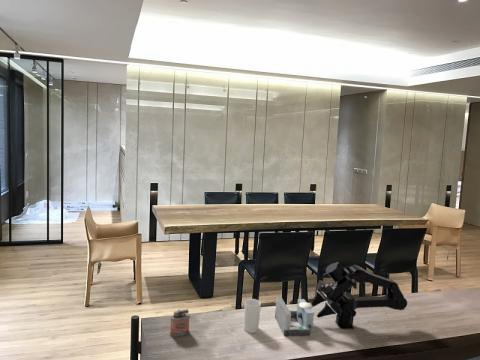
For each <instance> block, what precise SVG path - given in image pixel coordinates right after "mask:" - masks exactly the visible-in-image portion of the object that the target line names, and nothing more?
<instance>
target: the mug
mask: <svg viewBox="0 0 480 360" xmlns="http://www.w3.org/2000/svg"><path fill="white" fill-rule="evenodd" d="M261 305H262V303H261V301H260V300H259V299H256V298H248V299H246V300H245V301H244V308H243V309H244V310H243V315H244V316H243V330H244V332H247V333H257V332H258V331H259V324H260V316H261V315H260V313H261Z"/></svg>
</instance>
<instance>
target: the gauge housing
mask: <svg viewBox="0 0 480 360" xmlns="http://www.w3.org/2000/svg"><path fill="white" fill-rule="evenodd" d="M275 299H276V300H275V313H274V318H275V320H276V322H277V324H278V327H279V330H280V331H281V332H282V334H283V336H284V337H311V333H310V330H311V329H310V327H301V326H291V318H294V319H297V318H296V315H297V310H290V309H289V307H288V306H287V304H286V303H285V301H284V299H283V298H282V296H281V295H280V296H277V295H276V298H275Z"/></svg>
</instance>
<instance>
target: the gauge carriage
mask: <svg viewBox="0 0 480 360" xmlns="http://www.w3.org/2000/svg"><path fill="white" fill-rule="evenodd" d="M296 306H297V307H296V311H297V315H296V318H295V319H296V321H298V323H299V325H300V327H310V329H311V330H310V334H312V333H313V326H314V316H315V311H313V308H314V307H313V306H312V305H311V302H310V303H309V302H307V301H306V300H305V299H304V298H302V299H301V298H298V299H297V305H296Z"/></svg>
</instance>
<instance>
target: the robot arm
mask: <svg viewBox="0 0 480 360" xmlns="http://www.w3.org/2000/svg"><path fill="white" fill-rule="evenodd" d="M325 273H326V274H327V275H328V276H329V277H330V279H332V281H334V283H333V282H331V283H330V284H329V283H327V282H325V281H324V280H321V279H319V280H318V283H316V286H314V288H315V290H314V291H315V294H314V295H315V296H314V297H313V299H312V300H311V302H310V304H311V305H312V306H313V307H312V308H314V307H315V306H318V305H319V304H322V303H323V302H324V306H323V308H322V309H321V310H320V311H319V312H318V313H317V315H316V317H317V318H323V317H327V316H330V315H335V316H336V318H335V321H334V322H335V324H336V325H337V326H338V327H339V328H340V329H342V330H343V329H348V330H349V329H352V330H353V329H355V326H354V317H356V315H357V311H356V309H366V308H367V309H369V308H389V309H392V310H396V311H404V310H405V309H406V308H407V306H408V301H407V299H406V298H405V296H404V294H403V292H402V291H401V289H400V286H399V285H398V282H396V281H394V280H393V279H391V278H386V277H383V276H380V275H378V274H374V273H372V272H369V271H367V270H366V269H364V268H363V267H360V266H359V265H357V264H352V265H350V266H345V267H343V266H342V265H341V263H339V262H338V261H336V262H335V263H331V264H329V265H328V266H327V267H326V268H325ZM358 283H363V284H366V283H369V284H372V285H374V286H375V285H376V286H378V287H381V288H385V289H386V294H385V295H380V296H379V295H377V296H376V295H375V296H373V295H372V296H354V295H353V294H352V293H351V292H349V290H350V289H351V288H353V289H354V290H358V289H357V285H358ZM326 301H327V302H326Z"/></svg>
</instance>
